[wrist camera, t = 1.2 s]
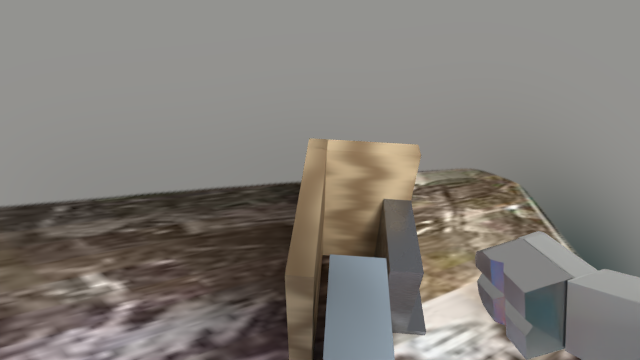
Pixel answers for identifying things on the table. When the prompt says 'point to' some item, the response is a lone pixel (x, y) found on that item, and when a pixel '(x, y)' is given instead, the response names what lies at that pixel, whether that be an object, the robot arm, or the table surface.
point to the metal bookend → (401, 265)
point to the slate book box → (358, 310)
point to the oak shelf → (339, 219)
